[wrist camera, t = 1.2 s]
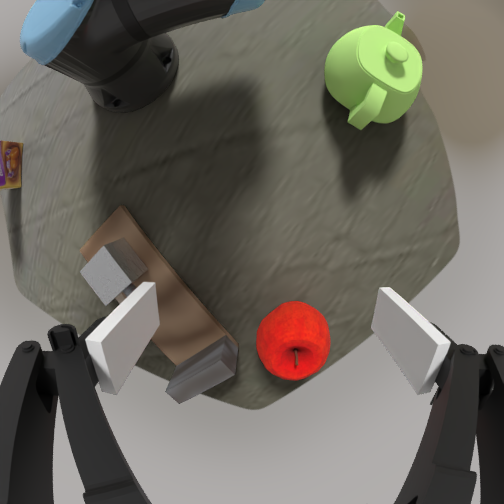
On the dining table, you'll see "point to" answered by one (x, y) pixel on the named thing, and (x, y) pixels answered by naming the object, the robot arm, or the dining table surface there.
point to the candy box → (10, 165)
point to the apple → (293, 341)
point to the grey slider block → (113, 270)
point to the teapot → (374, 73)
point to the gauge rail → (174, 314)
